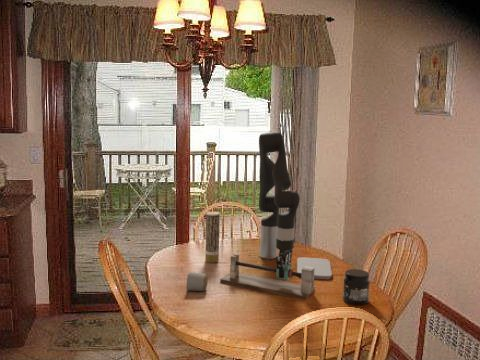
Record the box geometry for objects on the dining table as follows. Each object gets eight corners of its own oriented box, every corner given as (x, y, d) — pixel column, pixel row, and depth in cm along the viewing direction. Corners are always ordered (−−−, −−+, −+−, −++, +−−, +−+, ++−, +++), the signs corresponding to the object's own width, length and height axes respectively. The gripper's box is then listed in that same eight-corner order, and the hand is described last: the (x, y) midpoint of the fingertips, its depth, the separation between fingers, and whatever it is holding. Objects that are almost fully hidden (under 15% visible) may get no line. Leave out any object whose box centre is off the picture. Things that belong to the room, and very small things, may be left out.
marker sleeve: (280, 275, 201) (280, 262, 200) (290, 277, 198) (291, 264, 198) (276, 278, 197) (276, 265, 196) (287, 280, 194) (287, 267, 194)
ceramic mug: (205, 294, 191) (205, 276, 190) (185, 292, 192) (186, 275, 191) (209, 285, 202) (209, 268, 201) (190, 284, 203) (190, 267, 202)
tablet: (328, 263, 237) (329, 258, 237) (332, 281, 211) (332, 276, 211) (297, 261, 239) (297, 256, 239) (296, 278, 213) (296, 273, 213)
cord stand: (232, 274, 216) (233, 250, 214) (315, 290, 198) (317, 265, 196) (220, 282, 205) (220, 257, 203) (306, 300, 187) (308, 273, 186)
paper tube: (202, 261, 233) (203, 213, 229) (209, 258, 239) (210, 211, 235) (214, 263, 230) (215, 215, 226) (221, 260, 236) (222, 212, 232)
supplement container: (346, 293, 196) (348, 266, 194) (371, 299, 190) (373, 271, 189) (338, 302, 187) (340, 273, 185) (364, 308, 181) (366, 279, 180)
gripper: (283, 232, 203) (281, 269, 205) (270, 240, 190) (269, 279, 193) (299, 234, 200) (297, 272, 202) (287, 242, 187) (285, 282, 189)
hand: (283, 275), depth 197 cm, fingers closed on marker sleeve, 4 cm apart
